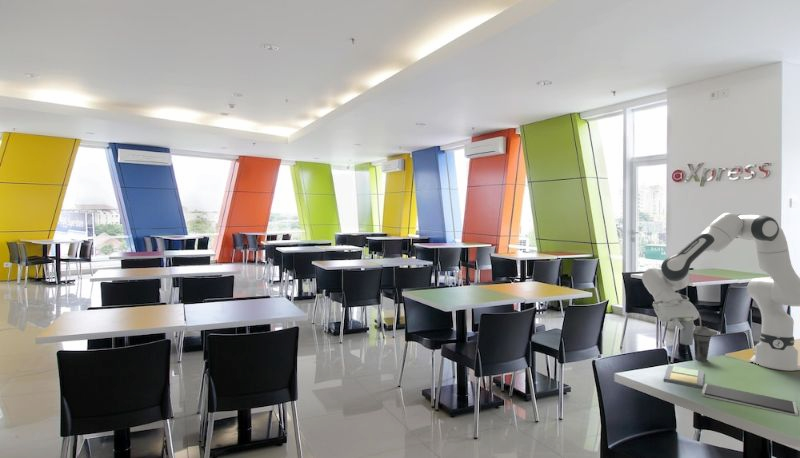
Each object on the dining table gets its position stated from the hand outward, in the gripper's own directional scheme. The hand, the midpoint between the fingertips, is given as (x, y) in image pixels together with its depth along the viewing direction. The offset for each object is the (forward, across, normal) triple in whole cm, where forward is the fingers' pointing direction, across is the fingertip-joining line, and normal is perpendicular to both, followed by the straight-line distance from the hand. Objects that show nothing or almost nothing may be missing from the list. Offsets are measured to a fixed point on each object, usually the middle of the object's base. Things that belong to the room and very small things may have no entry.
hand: (688, 328), depth 194 cm
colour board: (+15, -4, +12) cm, 20 cm away
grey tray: (+33, -5, -5) cm, 34 cm away
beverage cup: (+3, +28, +24) cm, 37 cm away
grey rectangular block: (+4, 0, +5) cm, 6 cm away
